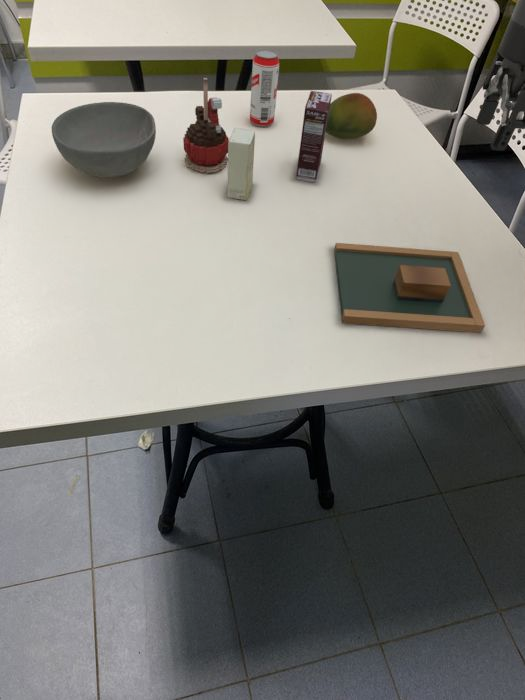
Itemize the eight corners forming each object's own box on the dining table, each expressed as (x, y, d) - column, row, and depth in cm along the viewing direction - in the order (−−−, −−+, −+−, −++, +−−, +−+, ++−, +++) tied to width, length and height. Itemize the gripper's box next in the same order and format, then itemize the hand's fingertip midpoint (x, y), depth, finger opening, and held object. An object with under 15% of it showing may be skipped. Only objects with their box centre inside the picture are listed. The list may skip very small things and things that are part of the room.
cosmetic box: (246, 201, 102) (250, 145, 93) (226, 197, 103) (227, 141, 93) (252, 185, 106) (256, 130, 97) (232, 181, 107) (234, 126, 97)
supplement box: (300, 160, 115) (310, 89, 102) (320, 164, 114) (333, 93, 102) (294, 180, 109) (304, 107, 97) (315, 183, 109) (328, 111, 97)
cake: (179, 154, 112) (174, 69, 98) (218, 149, 115) (219, 66, 101) (193, 179, 106) (190, 92, 92) (233, 173, 109) (237, 88, 95)
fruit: (378, 142, 123) (389, 102, 115) (338, 153, 118) (347, 111, 111) (349, 122, 129) (358, 82, 121) (311, 131, 124) (317, 90, 117)
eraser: (437, 285, 88) (445, 268, 85) (442, 302, 85) (451, 285, 82) (393, 282, 88) (399, 264, 85) (397, 299, 85) (403, 282, 82)
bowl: (57, 149, 110) (45, 103, 102) (149, 140, 115) (144, 96, 107) (67, 200, 98) (55, 152, 90) (168, 187, 103) (165, 141, 96)
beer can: (251, 128, 123) (256, 58, 110) (247, 116, 127) (250, 48, 114) (276, 128, 124) (283, 58, 112) (271, 116, 128) (277, 48, 116)
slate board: (454, 259, 95) (458, 251, 94) (480, 332, 83) (485, 325, 82) (334, 250, 94) (335, 242, 93) (342, 323, 82) (344, 315, 80)
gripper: (588, 41, 62) (526, 161, 75) (548, 5, 71) (499, 117, 84) (531, 35, 62) (478, 157, 74) (498, 0, 71) (456, 113, 83)
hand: (489, 136), depth 79 cm, fingers open, 8 cm apart
